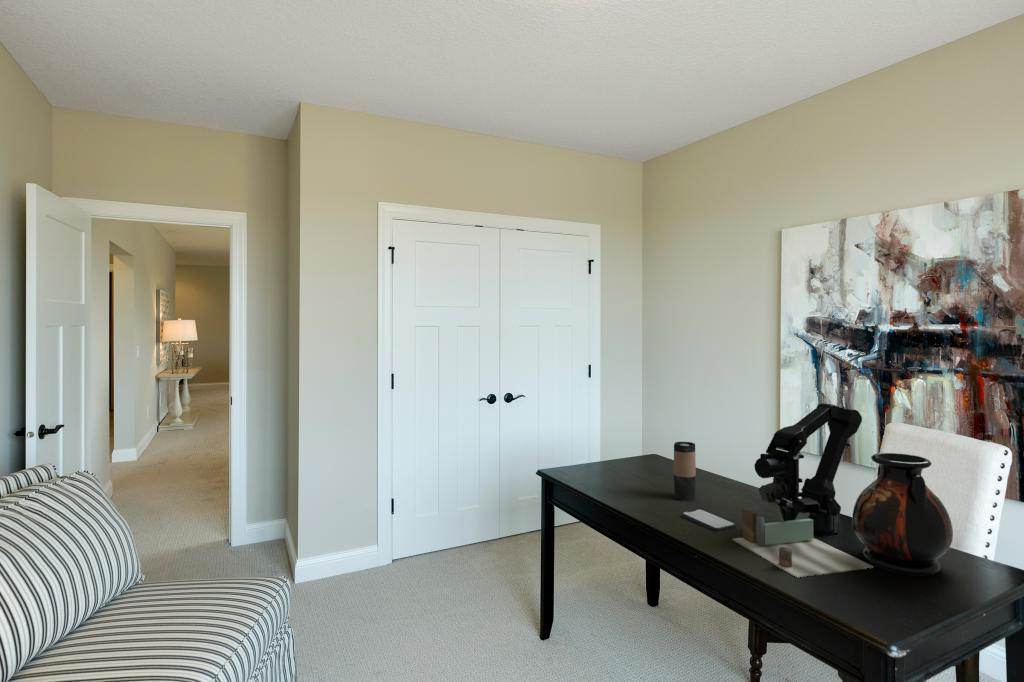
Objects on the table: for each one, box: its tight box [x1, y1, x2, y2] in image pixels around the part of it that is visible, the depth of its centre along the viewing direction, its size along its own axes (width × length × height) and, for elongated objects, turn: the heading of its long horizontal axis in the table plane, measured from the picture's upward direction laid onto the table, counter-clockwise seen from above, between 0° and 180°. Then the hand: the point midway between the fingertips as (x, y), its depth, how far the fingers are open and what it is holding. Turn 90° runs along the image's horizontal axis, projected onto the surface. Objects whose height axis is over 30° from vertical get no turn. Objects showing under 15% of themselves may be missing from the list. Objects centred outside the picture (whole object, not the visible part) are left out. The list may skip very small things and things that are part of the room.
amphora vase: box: [851, 452, 954, 577], centre depth 146 cm, size 22×22×28 cm
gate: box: [756, 516, 814, 546], centre depth 160 cm, size 18×2×8 cm, turn 103°
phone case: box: [681, 508, 736, 532], centre depth 180 cm, size 9×2×16 cm
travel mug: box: [673, 441, 697, 501], centre depth 205 cm, size 8×8×20 cm
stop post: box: [779, 547, 792, 567], centre depth 146 cm, size 3×3×4 cm
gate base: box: [732, 507, 875, 579], centre depth 154 cm, size 23×26×9 cm
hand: (788, 527), depth 164 cm, fingers closed
